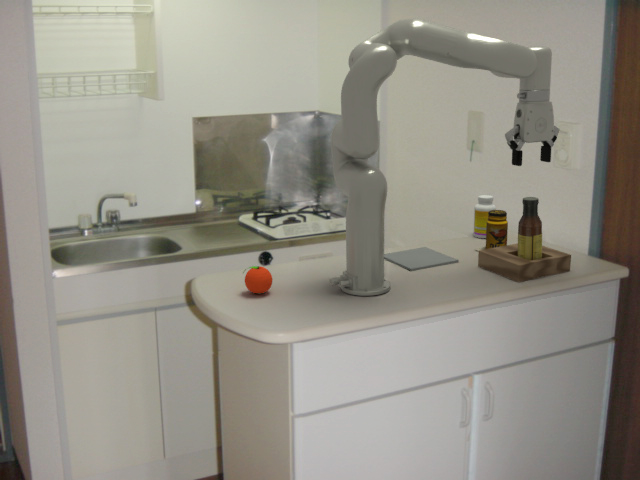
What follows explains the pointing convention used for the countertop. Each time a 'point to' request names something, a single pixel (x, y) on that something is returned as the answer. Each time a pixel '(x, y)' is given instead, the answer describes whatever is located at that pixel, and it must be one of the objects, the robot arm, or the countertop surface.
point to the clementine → (258, 279)
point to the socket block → (523, 263)
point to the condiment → (496, 229)
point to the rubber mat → (419, 258)
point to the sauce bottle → (530, 231)
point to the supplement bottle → (482, 214)
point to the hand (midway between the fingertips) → (531, 163)
